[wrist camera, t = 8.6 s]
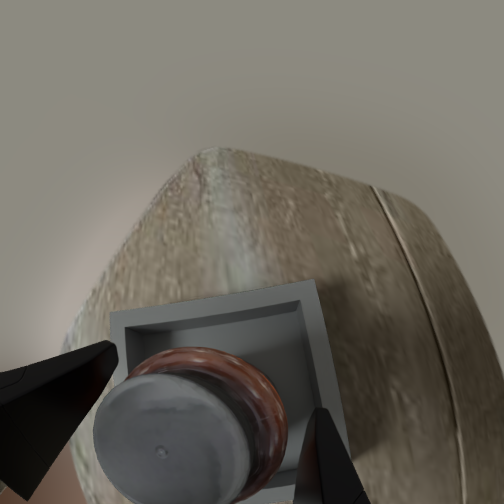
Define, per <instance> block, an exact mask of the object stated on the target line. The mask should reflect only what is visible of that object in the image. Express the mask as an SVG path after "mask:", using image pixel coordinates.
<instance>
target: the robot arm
mask: <svg viewBox="0 0 504 504" xmlns="http://www.w3.org/2000/svg"><path fill="white" fill-rule="evenodd" d="M118 363H119V357H118V352H117V346H116V344H115V343H113V342H110V341H108V340H104V341H101V342H98V343H95V344H92V345H89V346H86V347H83V348H80V349H77V350H74V351H71V352H68V353H65V354H62V355H59V356H56V357H53V358H50V359H47V360H43V361H41V362H37V363H34V364H30V365H28V366H24V367H20V368H17V369H13V370H10V371H5V372H0V494H1V493H2V492H3V490H4V489H5V488H6V487H7V486H8V487H9V488H10V489H12V490H13V491H14V492H15V493H17V494H18V495H19V496H20V497H22V498H23V499H25V500H26V501H28V500H29V499H30V497H31V496H32V494H33V493H34V491H35V489H36V488H37V487H38V485H39V484H40V482H41V481H42V479H43V478H44V476H45V475H46V473H47V471H48V470H49V469H50V468H49V467H51V465H52V464H53V462H54V461H55V459H56V458H57V456H58V455H59V453H60V452H61V451H62V449H63V448H64V446H65V445H66V443H67V442H68V440H69V439H70V438H71V436H72V435H73V433H74V432H75V430H76V429H77V428H78V426H79V425H80V423H81V422H82V420H83V419H84V418H85V416H86V415H87V413H88V412H89V411H90V409H91V408H92V407H93V405H94V404H95V402H96V401H97V400H98V398H99V397H100V395H101V394H102V392H103V390H104V389H105V387H106V385H107V383H108V381H109V380H110V378H111V376H112V374H113V373H114V371H115V369H116V367H117V366H118ZM363 490H364V488H363V486H362V483H361V481H360V479H359V477H358V474H357V472H356V470H355V468H354V465H353V463H352V461H351V459H350V456H349V454H348V452H347V450H346V448H345V445H344V443H343V441H342V439H341V436H340V434H339V432H338V430H337V427H336V425H335V423H334V421H333V419H332V416H331V414H330V412H329V410H328V409H327V408H322V407H316V408H315V409H314V411H313V413H312V415H311V417H310V419H309V421H308V423H307V427H306V431H305V436H304V440H303V444H302V449H301V453H300V457H299V461H298V467H297V475H296V483H295V491H294V499H293V504H371V503H370V501H369V499H368V497H367V494H366V492H365V491H363Z"/></svg>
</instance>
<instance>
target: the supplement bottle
mask: <svg viewBox="0 0 504 504" xmlns="http://www.w3.org/2000/svg"><path fill="white" fill-rule="evenodd" d="M93 440H94V447H95V451H96V454H97V459H98V461H99V463H100V465H101V467H102V469H103V471H104V473H105V475H106V476H107V477H108V479H109V480H110V482H111V483H112V484H113V485H114V487H115V488H116V489H117V490H118V491H119V492H120V493H121V494H122V495H123V496H125V497H126V498H127V499H129V500H130V501H131V502H133V503H134V504H235V503H238V502H240V501H244V500H246V499H248V498H250V497H251V496H253V495H255V494H256V493H257V492H259V491H260V490H261V489H262V488H264V487H265V486H266V485H267V484H268V483H269V482H270V481H271V479H272V478H273V477H274V476H275V474H276V473H277V471H278V470H279V468H280V466H281V463H282V461H283V458H284V456H285V451H286V447H287V441H288V423H287V417H286V413H285V408H284V406H283V403H282V401H281V398H280V395H279V393H278V391H277V388H276V387H275V385H274V383H273V382H272V380H271V379H270V378H269V377H268V376H267V375H266V374H265V373H263V372H262V371H261V370H259V369H258V368H256V367H255V366H254V365H252V364H250V363H248V362H246V361H244V360H242V359H241V358H239V357H237V356H235V355H232V354H229V353H226V352H224V351H220V350H217V349H213V348H207V347H179V348H173V349H169V350H166V351H162V352H160V353H158V354H155V355H153V356H151V357H150V358H148V359H146V360H144V361H143V362H142V363H141V364H139V365H138V366H137V367H135V368H134V369H133V370H132V372H131V373H130V374H129V375H128V376H127V377H126V379H125V380H124V381H123V382H121V383H120V384H119V385H117V386H115V387H114V388H113V389H112V390H111V391H110V392H109V393H108V394H107V395H106V396H105V397H104V399H103V401H102V402H101V404H100V406H99V407H98V409H97V412H96V416H95V421H94V427H93Z"/></svg>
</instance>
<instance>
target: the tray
mask: <svg viewBox="0 0 504 504" xmlns="http://www.w3.org/2000/svg"><path fill="white" fill-rule="evenodd" d="M110 338H111V342H113V343H115V344H116V346H117V352H118V357H119V363H118V366H117V367H116V369H115V371H114V373H113V378H114V387H115V386H117V385H119V384H120V383H121V382H123V381H124V380H125V379H126V377H127V376H128V375H129V374H130V373H131V372H132V370H133V369H134V368H135V367H137V366H138V365H139V364H141V363H142V362H143V361H144V360H146V359H148V358H150V357H151V356H153V355H155V354H158V353H160V352H162V351H166V350H169V349H173V348H179V347H207V348H213V349H217V350H220V351H224V352H226V353H229V354H232V355H235V356H237V357H239V358H241V359H242V360H244V361H246V362H248V363H250V364H252V365H254V366H255V367H256V368H258V369H259V370H261V371H262V372H263V373H265V374H266V375H267V376H268V377H269V378H270V379H271V380H272V382H273V383H274V385H275V387H276V388H277V391H278V393H279V395H280V398H281V401H282V403H283V406H284V408H285V413H286V417H287V423H288V441H287V447H286V451H285V456H284V458H283V461H282V463H281V466H280V468H279V470H278V471H277V473H276V474H275V476H274V477H273V478H272V479H271V481H270V482H269V483H268V484H267V485H266V486H265V487H264V488H262V489H261V490H260V491H259V492H257V493H256V494H255V495H253V496H251V497H250V498H248V499H246V500H244V501H240V502H238V503H235V504H269V503H276V502H282V501H288V500H293V499H294V491H295V483H296V475H297V467H298V461H299V457H300V453H301V449H302V444H303V440H304V436H305V431H306V427H307V423H308V421H309V419H310V417H311V415H312V413H313V411H314V409H315V408H316V407H322V408H327V409H328V410H329V412H330V414H331V416H332V419H333V421H334V423H335V425H336V427H337V430H338V432H339V434H340V436H341V439H342V441H343V443H344V445H345V448H346V450H347V452H348V454H349V456H350V459H351V455H350V449H349V442H348V436H347V430H346V424H345V419H344V413H343V408H342V402H341V397H340V392H339V387H338V382H337V377H336V372H335V367H334V362H333V358H332V353H331V348H330V344H329V339H328V335H327V331H326V326H325V322H324V318H323V313H322V309H321V305H320V301H319V297H318V293H317V289H316V285H315V281H314V279H310V280H305V281H300V282H295V283H290V284H284V285H279V286H274V287H268V288H263V289H257V290H252V291H246V292H240V293H234V294H229V295H223V296H217V297H211V298H204V299H198V300H192V301H185V302H179V303H172V304H166V305H159V306H152V307H145V308H137V309H130V310H122V311H115V312H110Z"/></svg>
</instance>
